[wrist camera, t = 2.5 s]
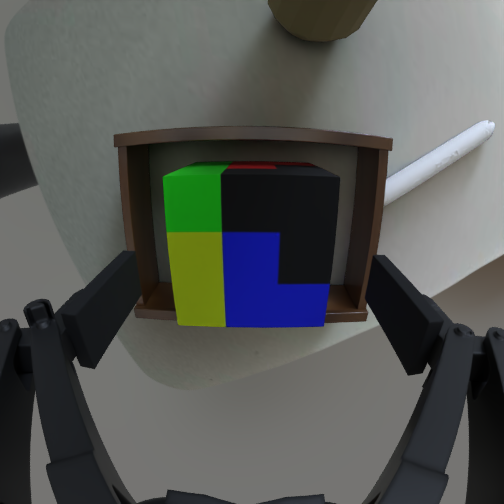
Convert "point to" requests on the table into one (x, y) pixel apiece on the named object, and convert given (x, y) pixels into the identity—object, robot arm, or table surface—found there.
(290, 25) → the squeeze bottle
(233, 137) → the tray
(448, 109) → the table surface
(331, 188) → the puzzle toy
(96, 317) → the robot arm
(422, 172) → the marker
